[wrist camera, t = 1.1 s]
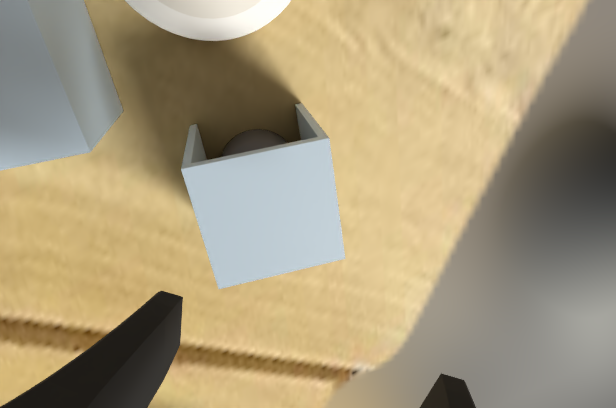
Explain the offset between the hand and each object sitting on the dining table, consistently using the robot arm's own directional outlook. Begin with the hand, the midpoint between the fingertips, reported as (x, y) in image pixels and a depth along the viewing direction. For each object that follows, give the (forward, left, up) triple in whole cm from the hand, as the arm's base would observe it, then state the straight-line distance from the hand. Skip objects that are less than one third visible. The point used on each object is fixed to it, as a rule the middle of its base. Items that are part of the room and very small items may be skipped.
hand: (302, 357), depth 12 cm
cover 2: (0, +1, -13) cm, 13 cm away
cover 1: (-9, +8, -13) cm, 17 cm away
